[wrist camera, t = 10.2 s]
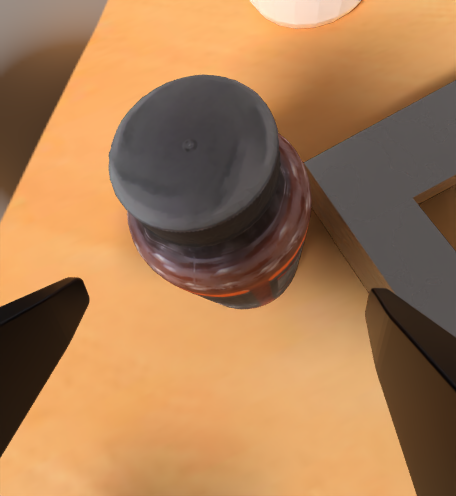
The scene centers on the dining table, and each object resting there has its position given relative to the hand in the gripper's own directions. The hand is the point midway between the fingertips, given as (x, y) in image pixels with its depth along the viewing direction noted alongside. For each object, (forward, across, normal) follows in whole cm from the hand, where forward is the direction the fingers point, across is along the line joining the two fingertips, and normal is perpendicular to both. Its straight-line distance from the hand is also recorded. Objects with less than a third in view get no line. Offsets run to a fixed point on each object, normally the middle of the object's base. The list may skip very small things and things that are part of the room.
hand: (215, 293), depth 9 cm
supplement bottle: (+8, 0, +4) cm, 8 cm away
